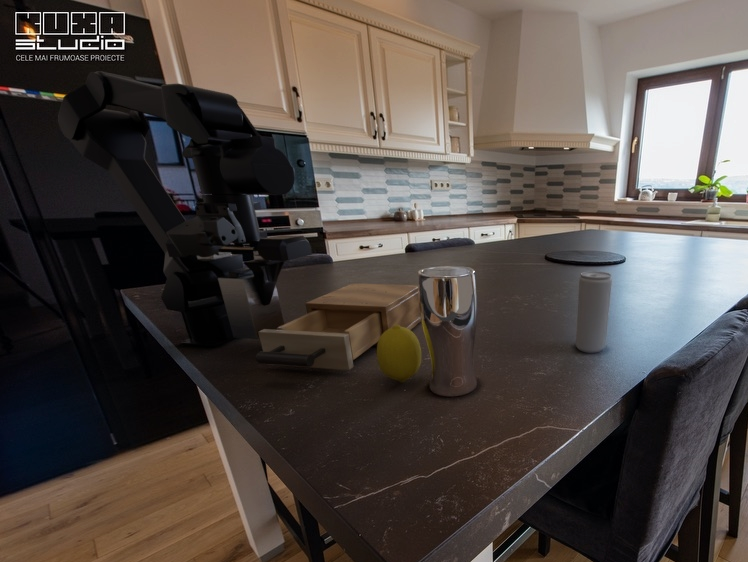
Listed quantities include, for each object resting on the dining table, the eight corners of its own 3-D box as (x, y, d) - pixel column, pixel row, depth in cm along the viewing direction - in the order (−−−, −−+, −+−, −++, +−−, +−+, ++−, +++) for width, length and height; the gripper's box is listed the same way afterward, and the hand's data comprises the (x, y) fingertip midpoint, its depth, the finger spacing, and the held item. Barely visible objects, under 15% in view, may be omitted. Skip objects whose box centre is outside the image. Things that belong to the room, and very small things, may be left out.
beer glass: (457, 404, 47) (450, 279, 42) (414, 389, 50) (403, 272, 45) (490, 381, 52) (488, 269, 47) (450, 370, 56) (443, 263, 50)
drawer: (331, 384, 50) (324, 348, 48) (241, 378, 51) (232, 343, 50) (392, 336, 66) (389, 308, 64) (323, 332, 68) (318, 304, 66)
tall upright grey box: (233, 337, 59) (215, 272, 55) (262, 324, 64) (248, 264, 61) (257, 339, 58) (241, 273, 55) (285, 326, 64) (272, 265, 60)
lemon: (413, 393, 49) (406, 333, 46) (372, 389, 50) (364, 330, 47) (430, 374, 54) (425, 319, 52) (393, 371, 55) (386, 317, 53)
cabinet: (390, 346, 64) (385, 306, 62) (312, 342, 66) (305, 302, 64) (423, 319, 78) (420, 285, 75) (357, 316, 80) (353, 283, 77)
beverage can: (611, 348, 64) (618, 274, 59) (595, 356, 60) (601, 279, 56) (585, 340, 67) (590, 270, 62) (569, 348, 63) (573, 274, 59)
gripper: (105, 194, 48) (147, 317, 54) (241, 196, 45) (270, 324, 51) (188, 194, 58) (216, 296, 64) (303, 194, 56) (322, 301, 61)
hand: (253, 304), depth 60 cm, fingers closed on tall upright grey box, 4 cm apart
